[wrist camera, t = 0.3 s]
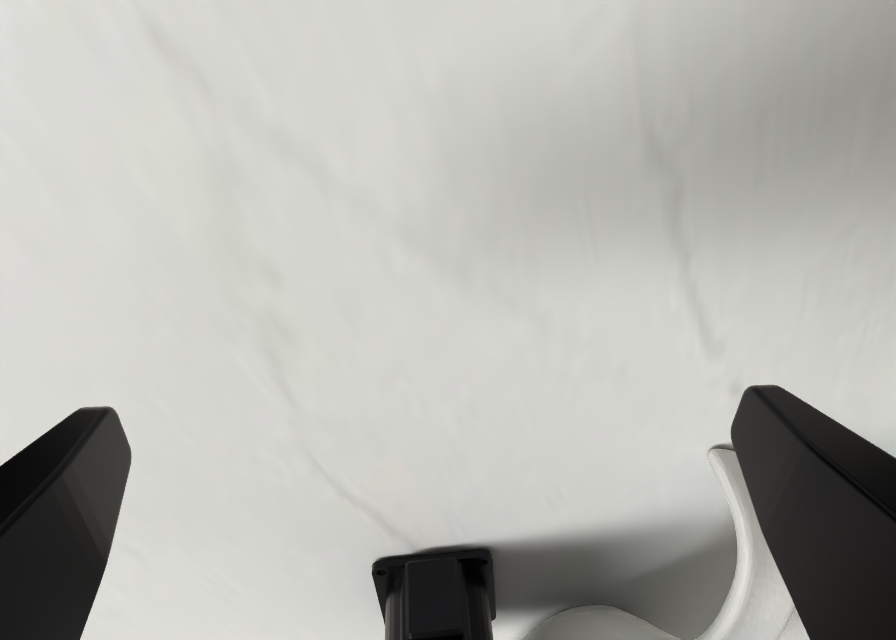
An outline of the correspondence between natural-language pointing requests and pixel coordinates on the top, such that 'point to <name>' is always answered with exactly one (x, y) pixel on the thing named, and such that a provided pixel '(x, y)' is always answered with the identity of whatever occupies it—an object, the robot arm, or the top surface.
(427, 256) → the top surface
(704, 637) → the spoon rest
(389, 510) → the top surface
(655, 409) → the top surface
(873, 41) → the top surface
